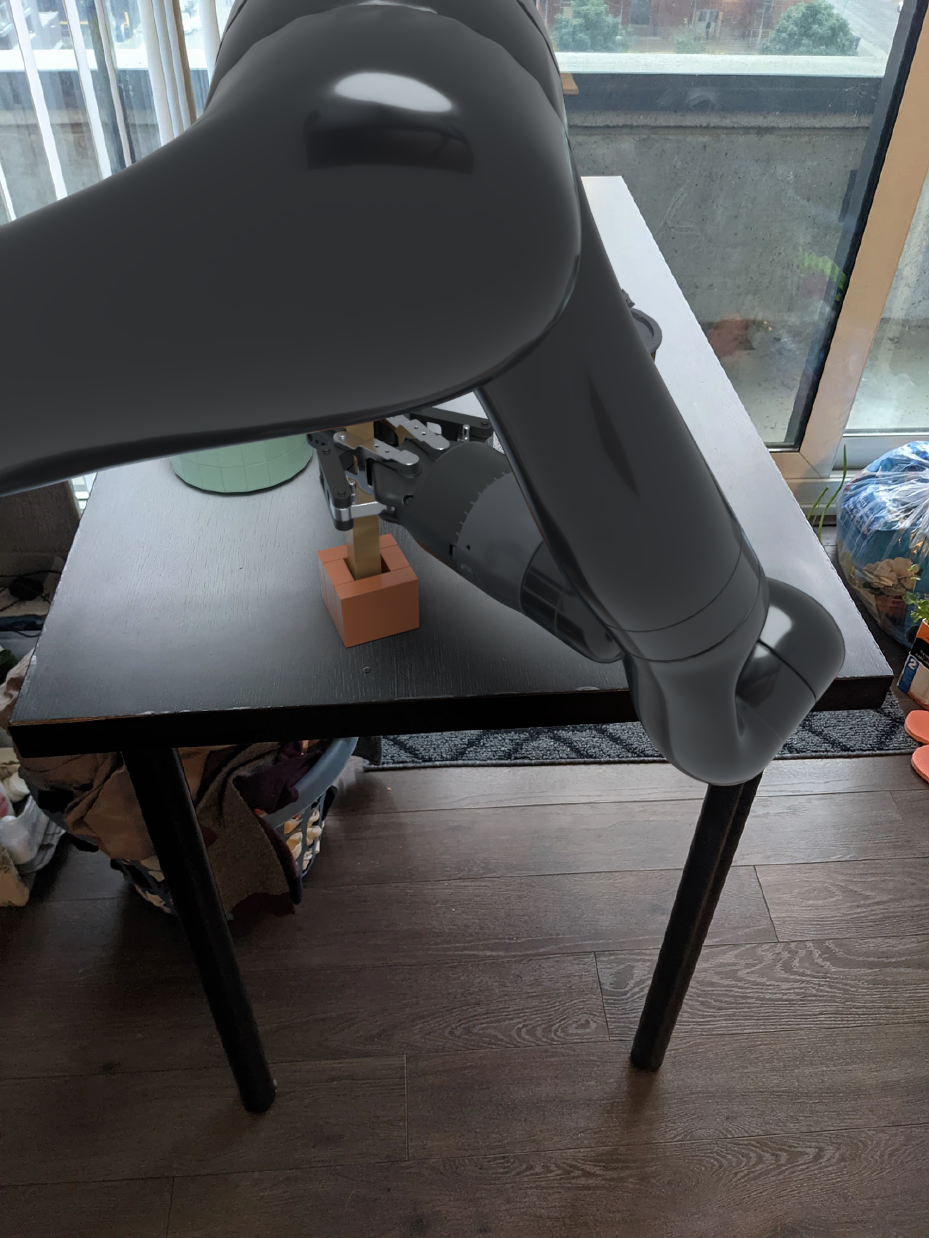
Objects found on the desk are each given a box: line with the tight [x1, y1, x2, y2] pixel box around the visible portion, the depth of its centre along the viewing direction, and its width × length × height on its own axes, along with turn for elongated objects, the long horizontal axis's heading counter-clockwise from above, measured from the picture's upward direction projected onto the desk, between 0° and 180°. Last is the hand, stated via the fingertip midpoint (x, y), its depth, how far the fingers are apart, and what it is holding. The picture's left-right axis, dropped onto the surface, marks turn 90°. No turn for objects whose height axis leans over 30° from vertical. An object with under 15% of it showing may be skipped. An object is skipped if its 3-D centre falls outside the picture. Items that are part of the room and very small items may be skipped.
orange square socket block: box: [316, 532, 420, 649], centre depth 73 cm, size 6×6×5 cm
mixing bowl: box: [169, 434, 314, 493], centre depth 88 cm, size 13×13×6 cm
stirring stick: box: [344, 422, 381, 580], centre depth 65 cm, size 2×2×20 cm
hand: (328, 415), depth 65 cm, fingers closed on stirring stick, 2 cm apart
